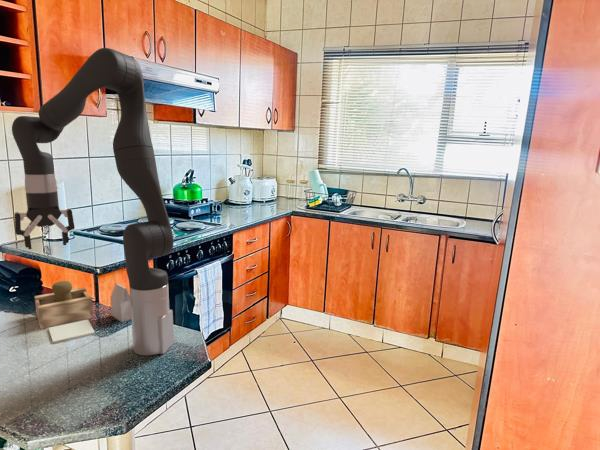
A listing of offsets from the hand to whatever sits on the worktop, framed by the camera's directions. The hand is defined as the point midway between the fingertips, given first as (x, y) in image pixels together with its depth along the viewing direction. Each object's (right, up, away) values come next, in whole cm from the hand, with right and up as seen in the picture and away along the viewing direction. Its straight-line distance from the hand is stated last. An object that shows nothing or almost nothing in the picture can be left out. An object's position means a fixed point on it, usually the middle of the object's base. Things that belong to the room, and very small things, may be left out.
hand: (47, 246), depth 117 cm
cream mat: (+9, -24, -3) cm, 25 cm away
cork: (+1, -22, +7) cm, 23 cm away
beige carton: (+18, -22, +7) cm, 30 cm away
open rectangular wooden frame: (+1, -22, +7) cm, 23 cm away
